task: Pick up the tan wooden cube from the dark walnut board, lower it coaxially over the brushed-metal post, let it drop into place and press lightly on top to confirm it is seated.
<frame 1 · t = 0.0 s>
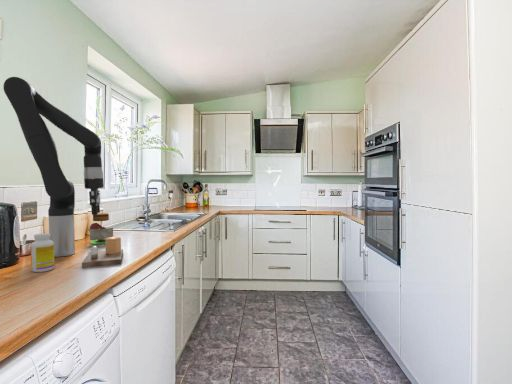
hand: (96, 213, 133), 17 cm above the counter, tool pointing down, fingers open, 8 cm apart
board: (104, 260, 118), on the counter
tan wooden cube: (113, 252, 124), point 2 cm above the counter, touching board
post: (94, 258, 113), resting on board
supplement bottle: (43, 270, 106), on the counter
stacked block: (100, 243, 154), on the counter
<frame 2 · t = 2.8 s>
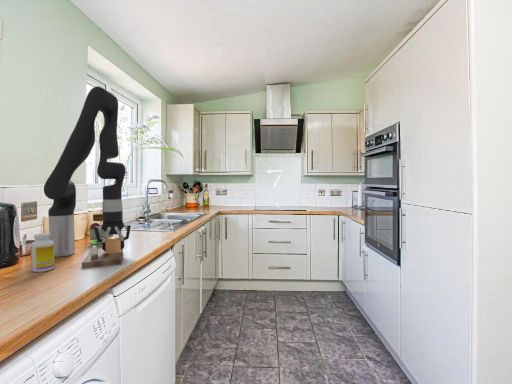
hand: (113, 250, 124), 3 cm above the counter, tool pointing down, fingers closed on tan wooden cube, 5 cm apart
tan wooden cube: (113, 252, 124), point 2 cm above the counter, touching board, gripper
everything else where it was.
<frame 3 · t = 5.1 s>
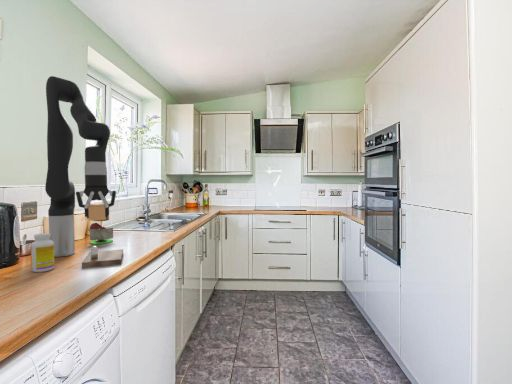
hand: (97, 217, 114), 18 cm above the counter, tool pointing down, fingers closed on tan wooden cube, 5 cm apart
tan wooden cube: (97, 219, 115), point 17 cm above the counter, touching gripper
everything else where it was.
when the fingers open (4 cm above the counter, at t = 7.7 s): tan wooden cube drops 1 cm, resting on board.
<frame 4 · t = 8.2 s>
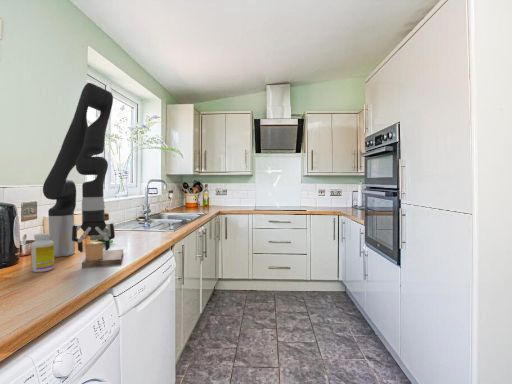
hand: (94, 251, 113), 5 cm above the counter, tool pointing down, fingers open, 8 cm apart
tan wooden cube: (94, 258, 113), point 2 cm above the counter, touching board
everything else where it was.
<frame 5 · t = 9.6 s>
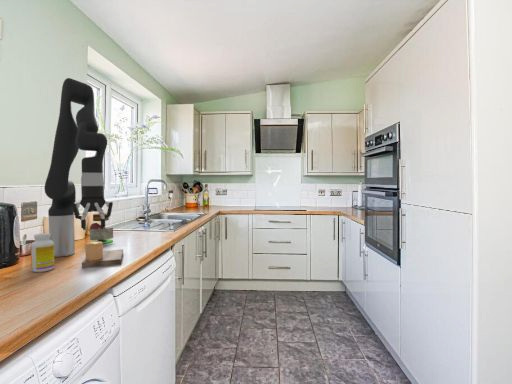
hand: (93, 228, 113), 13 cm above the counter, tool pointing down, fingers open, 5 cm apart
nothing on the counter moved.
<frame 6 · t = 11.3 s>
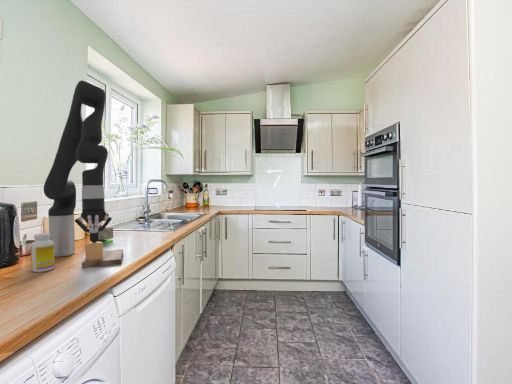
hand: (94, 242, 113), 8 cm above the counter, tool pointing down, fingers closed
nothing on the counter moved.
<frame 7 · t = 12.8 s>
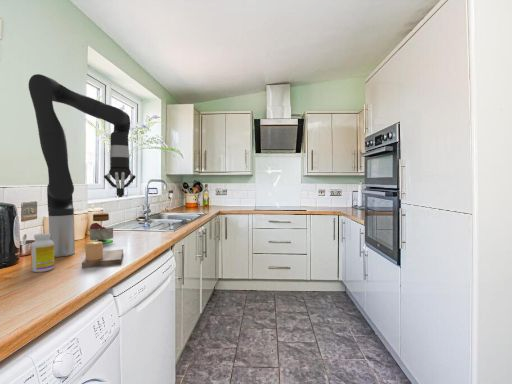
hand: (120, 197, 127), 25 cm above the counter, tool pointing down, fingers closed
nothing on the counter moved.
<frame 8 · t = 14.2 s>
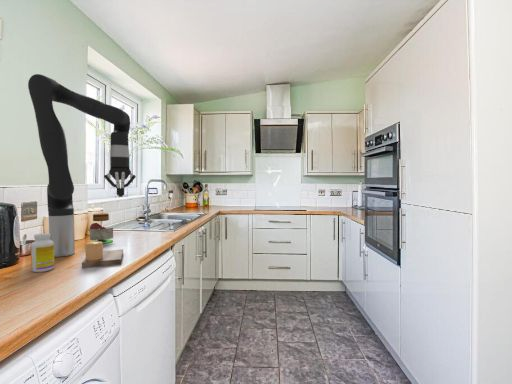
hand: (120, 196, 127), 25 cm above the counter, tool pointing down, fingers closed
nothing on the counter moved.
at the end: tan wooden cube 0.0 cm from the post (horizontally); tan wooden cube point 2.0 cm above the counter; tan wooden cube tilted 0° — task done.
